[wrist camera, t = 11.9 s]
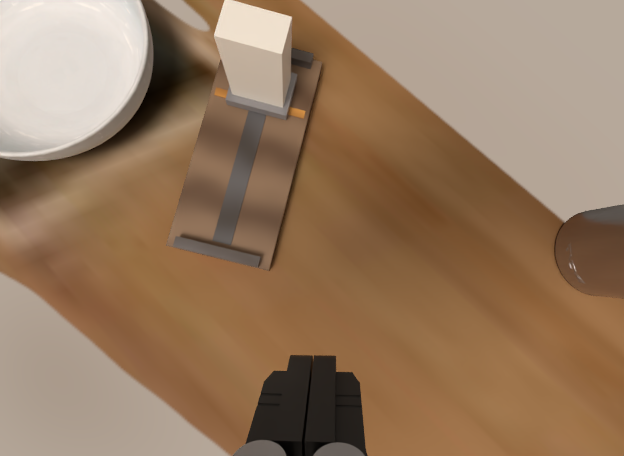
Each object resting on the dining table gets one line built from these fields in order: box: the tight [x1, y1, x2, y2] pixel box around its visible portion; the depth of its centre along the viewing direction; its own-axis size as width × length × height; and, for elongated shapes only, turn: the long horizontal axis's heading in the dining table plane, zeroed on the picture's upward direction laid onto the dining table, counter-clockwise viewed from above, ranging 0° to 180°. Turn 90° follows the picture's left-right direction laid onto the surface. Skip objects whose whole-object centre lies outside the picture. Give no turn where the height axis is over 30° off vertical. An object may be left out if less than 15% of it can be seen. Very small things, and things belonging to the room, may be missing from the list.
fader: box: [214, 0, 297, 120], centre depth 32 cm, size 4×6×10 cm
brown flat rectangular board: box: [166, 48, 322, 271], centre depth 37 cm, size 22×10×3 cm, turn 166°
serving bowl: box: [0, 0, 153, 161], centre depth 34 cm, size 21×21×7 cm
